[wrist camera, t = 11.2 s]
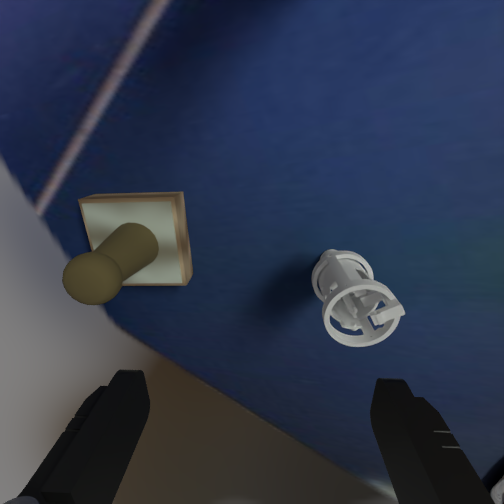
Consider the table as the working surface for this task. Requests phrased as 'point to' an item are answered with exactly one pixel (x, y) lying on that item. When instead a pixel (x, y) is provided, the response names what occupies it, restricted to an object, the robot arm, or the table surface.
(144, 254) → the cork
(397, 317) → the grey mechanical part
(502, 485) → the food plate
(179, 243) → the base block
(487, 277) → the table surface
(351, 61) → the table surface
